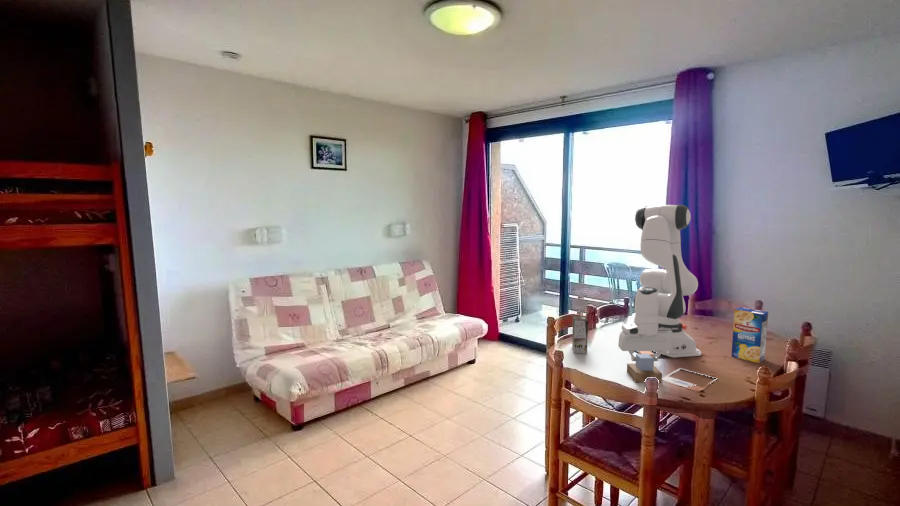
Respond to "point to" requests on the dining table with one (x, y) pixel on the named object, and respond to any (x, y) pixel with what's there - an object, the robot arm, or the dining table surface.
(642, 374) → the walnut block
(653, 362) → the terracotta cube
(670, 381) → the photo frame
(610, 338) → the dining table surface
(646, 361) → the blue cube
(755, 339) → the beverage box
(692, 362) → the dining table surface
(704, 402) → the dining table surface
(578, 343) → the coffee box
